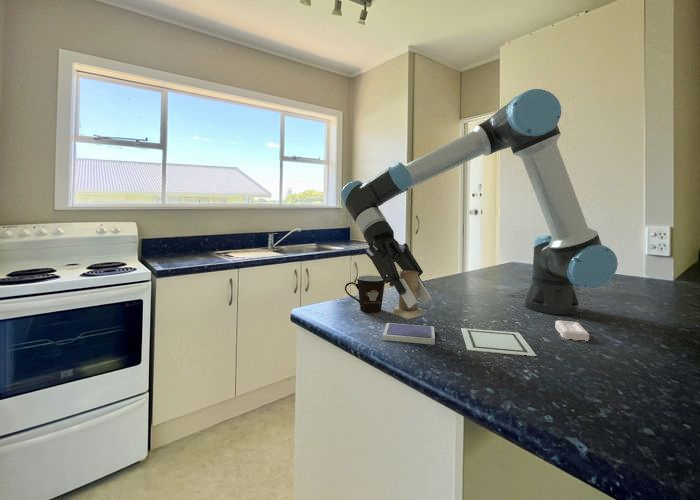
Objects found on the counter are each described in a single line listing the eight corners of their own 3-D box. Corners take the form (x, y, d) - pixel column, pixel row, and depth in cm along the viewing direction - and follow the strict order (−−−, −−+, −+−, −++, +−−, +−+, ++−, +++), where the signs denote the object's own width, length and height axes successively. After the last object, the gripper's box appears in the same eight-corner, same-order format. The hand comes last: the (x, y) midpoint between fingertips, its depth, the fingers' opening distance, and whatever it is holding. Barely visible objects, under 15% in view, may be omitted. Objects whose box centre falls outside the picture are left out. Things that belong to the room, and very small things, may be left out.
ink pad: (433, 331, 87) (433, 325, 87) (434, 344, 78) (434, 338, 78) (386, 327, 90) (386, 322, 89) (382, 339, 81) (382, 334, 81)
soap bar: (577, 330, 90) (578, 321, 89) (589, 343, 81) (590, 333, 81) (554, 328, 91) (555, 319, 91) (563, 340, 83) (564, 330, 83)
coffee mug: (387, 307, 107) (388, 276, 106) (380, 315, 99) (381, 281, 98) (352, 304, 111) (353, 273, 110) (343, 311, 103) (343, 278, 102)
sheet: (518, 333, 86) (519, 332, 86) (536, 356, 72) (536, 355, 72) (460, 328, 89) (461, 327, 89) (467, 350, 75) (467, 348, 75)
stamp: (393, 315, 84) (394, 271, 83) (407, 312, 87) (408, 269, 86) (408, 321, 80) (409, 275, 79) (422, 317, 83) (424, 272, 82)
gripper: (391, 236, 99) (434, 305, 88) (342, 239, 88) (385, 318, 77) (405, 219, 94) (453, 289, 83) (356, 219, 83) (403, 300, 72)
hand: (420, 303), depth 80 cm, fingers closed on stamp, 4 cm apart
